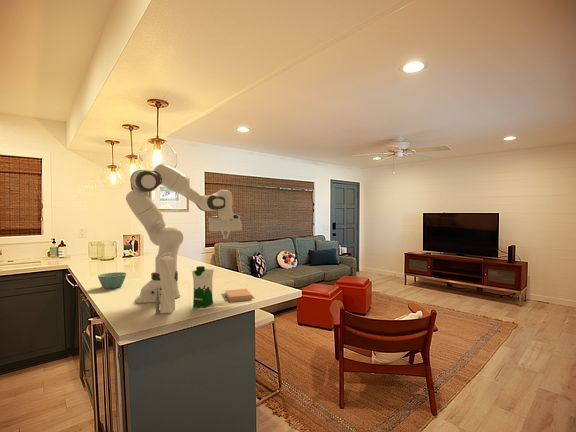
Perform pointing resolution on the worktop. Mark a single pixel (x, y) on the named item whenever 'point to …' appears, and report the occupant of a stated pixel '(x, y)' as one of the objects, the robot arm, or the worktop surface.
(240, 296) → the tile
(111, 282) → the bowl
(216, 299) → the worktop surface
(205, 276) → the milk carton
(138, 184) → the robot arm
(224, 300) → the mat
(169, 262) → the skyscraper
